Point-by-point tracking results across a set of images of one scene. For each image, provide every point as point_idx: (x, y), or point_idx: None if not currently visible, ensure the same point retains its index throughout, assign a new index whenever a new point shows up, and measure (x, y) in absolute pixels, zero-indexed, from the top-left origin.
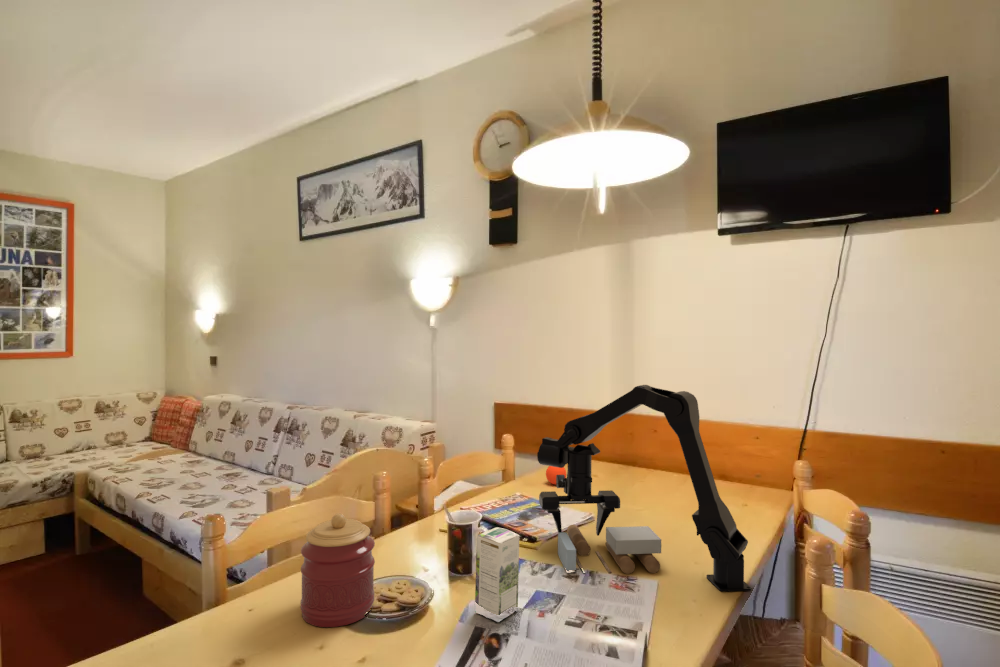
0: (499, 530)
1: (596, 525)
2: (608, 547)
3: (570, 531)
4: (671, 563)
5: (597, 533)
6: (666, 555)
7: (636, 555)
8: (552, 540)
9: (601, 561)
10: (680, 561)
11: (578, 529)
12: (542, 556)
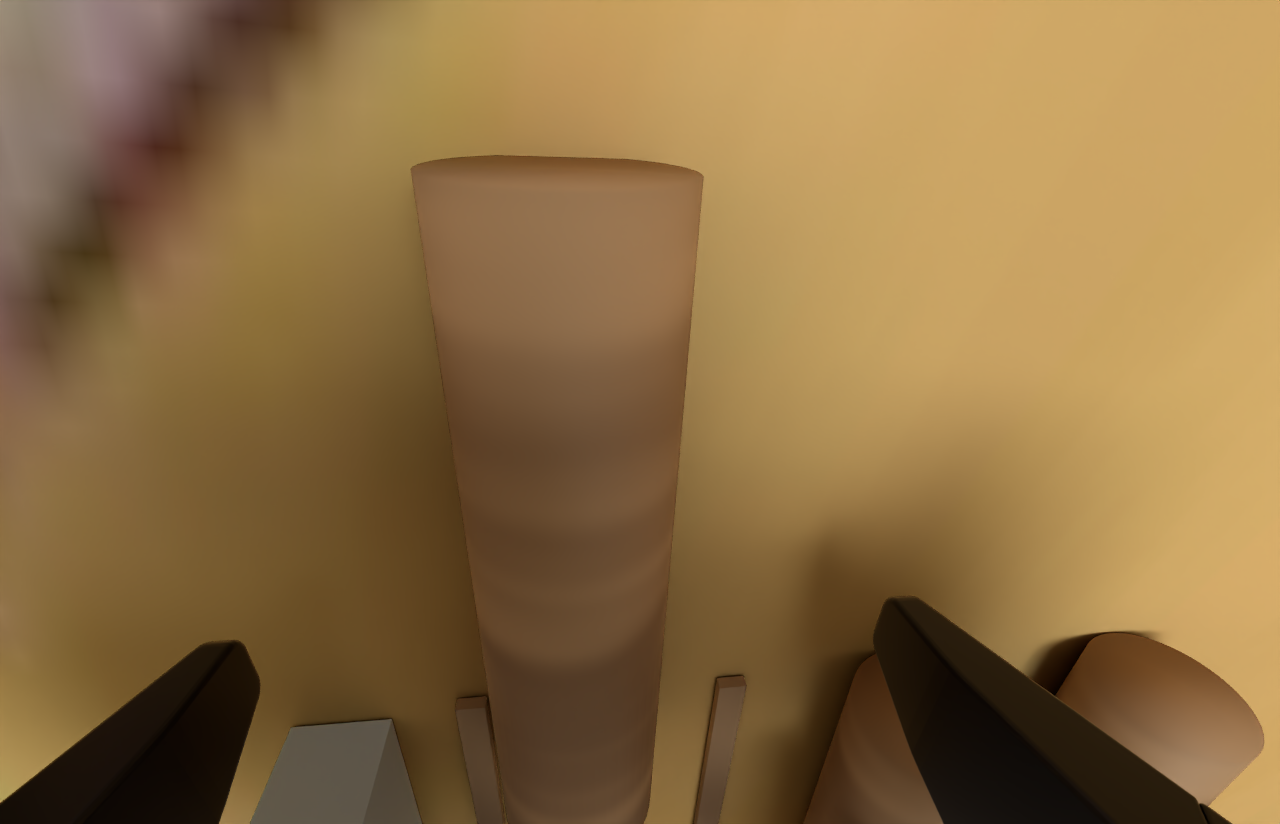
0: None
1: (984, 717)
2: (841, 797)
3: (462, 444)
4: None
5: (886, 677)
6: (1263, 694)
7: None
8: (152, 363)
9: (697, 803)
10: None
11: (644, 438)
12: None
